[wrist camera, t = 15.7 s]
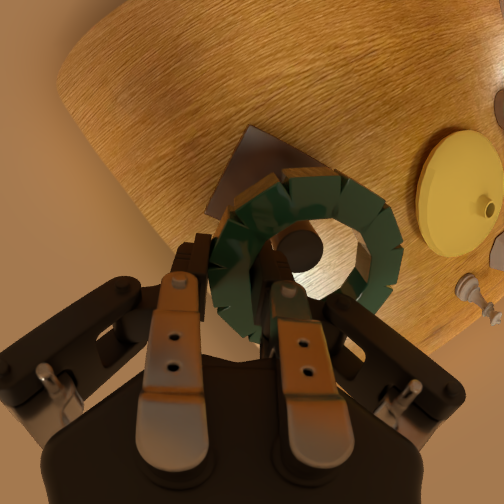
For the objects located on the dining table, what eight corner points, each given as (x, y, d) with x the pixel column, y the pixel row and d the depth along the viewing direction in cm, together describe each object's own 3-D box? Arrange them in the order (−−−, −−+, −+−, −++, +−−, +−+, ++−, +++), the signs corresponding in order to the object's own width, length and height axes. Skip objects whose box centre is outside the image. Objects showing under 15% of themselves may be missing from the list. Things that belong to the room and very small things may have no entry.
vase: (412, 264, 32) (441, 296, 26) (390, 146, 25) (431, 160, 19) (489, 220, 30) (520, 242, 24) (480, 114, 23) (520, 124, 16)
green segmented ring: (185, 298, 15) (181, 320, 13) (263, 130, 11) (269, 134, 9) (326, 341, 17) (334, 362, 15) (414, 219, 13) (432, 233, 12)
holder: (205, 208, 27) (188, 286, 15) (248, 123, 23) (266, 133, 12) (285, 244, 29) (319, 332, 18) (331, 169, 26) (403, 219, 14)
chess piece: (460, 273, 34) (499, 313, 25) (476, 271, 34) (513, 308, 25) (450, 297, 36) (485, 338, 27) (467, 294, 36) (500, 332, 27)
